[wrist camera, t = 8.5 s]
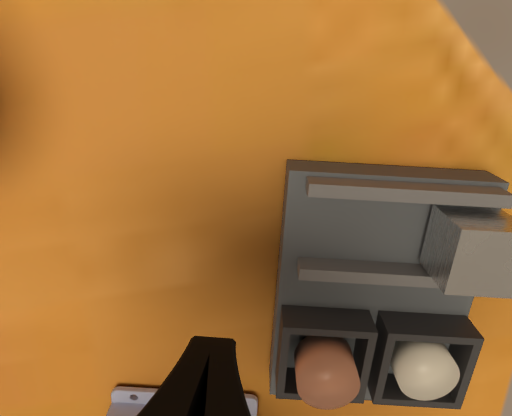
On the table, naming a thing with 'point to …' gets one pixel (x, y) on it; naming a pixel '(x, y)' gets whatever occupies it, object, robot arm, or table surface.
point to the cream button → (424, 369)
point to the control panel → (371, 270)
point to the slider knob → (469, 251)
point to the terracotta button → (325, 372)
